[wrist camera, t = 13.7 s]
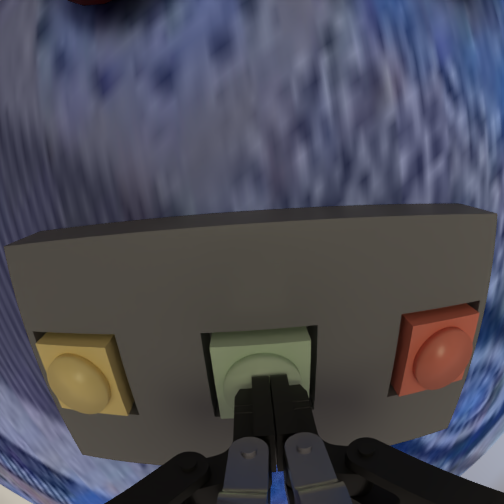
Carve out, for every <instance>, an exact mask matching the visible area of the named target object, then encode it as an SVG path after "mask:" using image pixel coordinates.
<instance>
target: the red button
mask: <svg viewBox="0 0 504 504" xmlns="http://www.w3.org/2000/svg"><path fill="white" fill-rule="evenodd" d="M478 318H479V312H478V311H476V310H475V309H474V308H472V307H471V306H470V305H468V304H467V303H464V304H459V305H453V306H448V307H442V308H437V309H431V310H425V311H419V312H413V313H406V314H401V322H400V329H399V336H398V342H397V348H396V354H395V360H394V365H393V371H392V376H391V381H390V383H391V385H392V386H393V388H394V390H395V391H396V393H397V394H398V396H399V397H400V396H404V395H408V394H412V393H416V392H420V391H424V390H436V389H440V388H443V387H445V386H447V385H449V384H450V383H452V382H455V381H459V380H462V377H463V374H464V371H465V368H466V366H467V365H468V363H469V361H470V358H471V355H472V350H473V344H472V343H473V339H474V335H475V331H476V327H477V322H478Z"/></svg>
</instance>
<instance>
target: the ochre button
mask: <svg viewBox="0 0 504 504" xmlns="http://www.w3.org/2000/svg"><path fill="white" fill-rule="evenodd" d="M35 344H36V347H37V350H38V352H39V355H40V358H41V360H42V363H43V365H44V368H45V370H46V373H47V379H48V383H49V385H50V387H51V389H52V391H53V392H54V394H55V395H56V396H57V398H58V400H59V403H60V405H61V407H62V408H66V409H72V410H75V411H78V412H80V413H84V414H97V413H103V414H112V415H122V416H128V415H129V412H130V410H131V408H132V405H133V403H134V397H133V394H132V391H131V388H130V385H129V382H128V379H127V376H126V373H125V369H124V366H123V363H122V359H121V356H120V352H119V349H118V345H117V342H116V338H115V334H77V333H54V332H47V333H46V334H45V335H44V336H43V337H42V338H41V339H39V340H38V341H37V342H36V343H35Z"/></svg>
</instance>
